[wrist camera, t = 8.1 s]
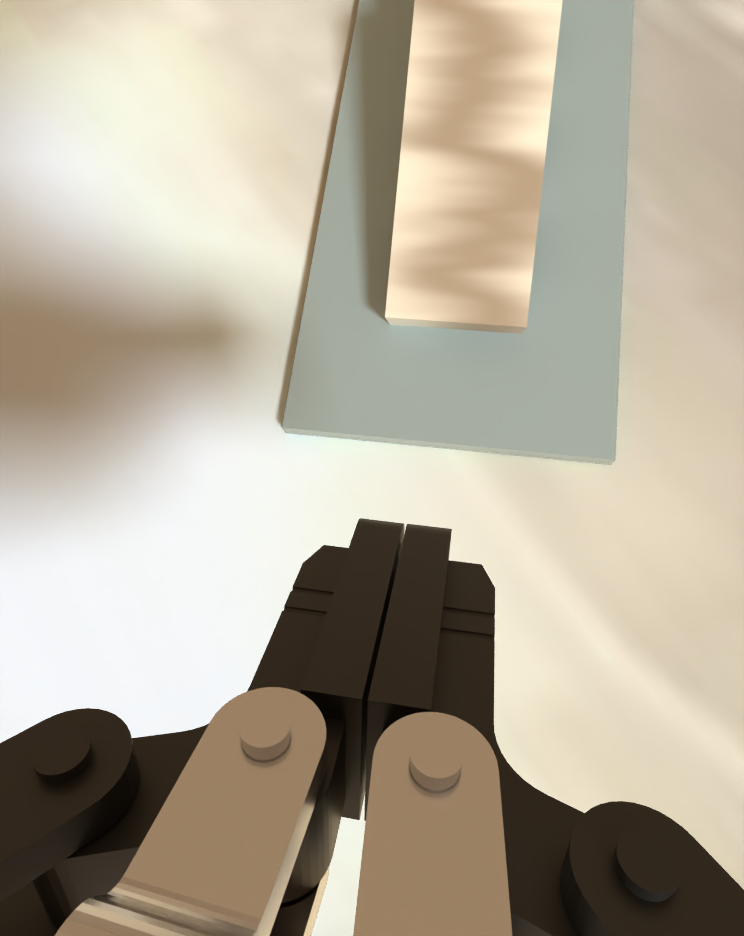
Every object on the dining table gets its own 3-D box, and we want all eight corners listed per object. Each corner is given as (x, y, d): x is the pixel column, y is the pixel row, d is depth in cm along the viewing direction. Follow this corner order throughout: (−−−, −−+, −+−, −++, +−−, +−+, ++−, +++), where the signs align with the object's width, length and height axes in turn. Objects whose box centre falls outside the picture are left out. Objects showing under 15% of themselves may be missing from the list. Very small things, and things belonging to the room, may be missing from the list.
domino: (522, 334, 24) (559, -3, 23) (526, 327, 22) (566, -35, 21) (389, 324, 24) (421, -3, 24) (384, 317, 23) (417, -34, 22)
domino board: (633, -77, 29) (637, -92, 29) (611, 464, 23) (615, 459, 22) (376, -74, 31) (374, -87, 30) (285, 432, 24) (281, 427, 24)
